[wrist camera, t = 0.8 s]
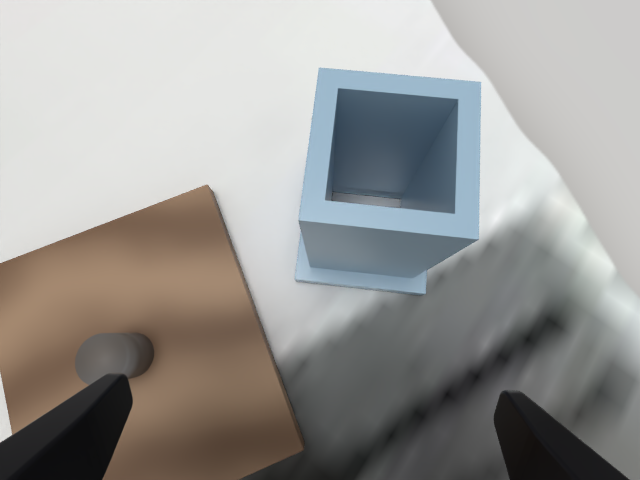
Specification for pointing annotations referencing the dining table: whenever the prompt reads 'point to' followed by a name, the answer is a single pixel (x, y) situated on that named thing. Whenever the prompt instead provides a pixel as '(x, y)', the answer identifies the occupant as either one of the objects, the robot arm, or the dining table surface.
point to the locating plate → (150, 342)
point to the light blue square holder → (389, 179)
